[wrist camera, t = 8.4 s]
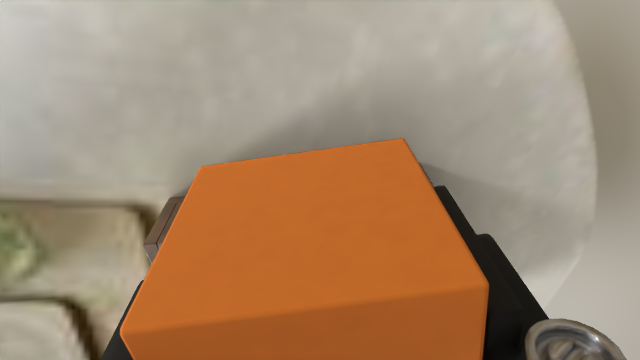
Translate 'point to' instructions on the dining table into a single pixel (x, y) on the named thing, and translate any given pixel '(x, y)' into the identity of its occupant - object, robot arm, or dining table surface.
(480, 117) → the dining table surface
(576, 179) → the dining table surface
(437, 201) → the orange cube
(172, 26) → the dining table surface
